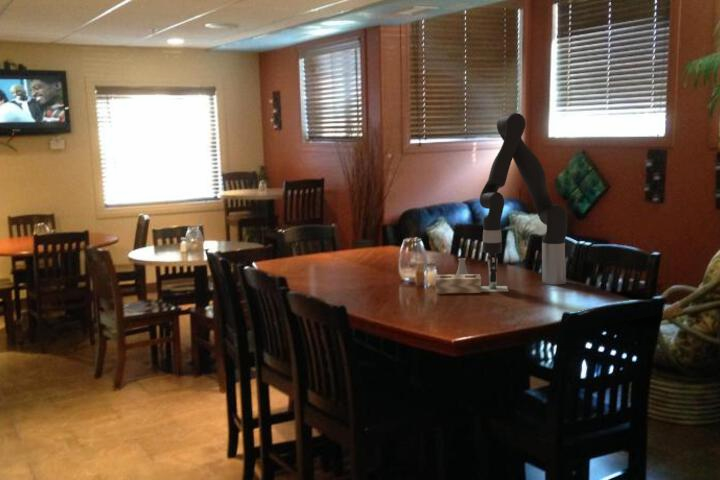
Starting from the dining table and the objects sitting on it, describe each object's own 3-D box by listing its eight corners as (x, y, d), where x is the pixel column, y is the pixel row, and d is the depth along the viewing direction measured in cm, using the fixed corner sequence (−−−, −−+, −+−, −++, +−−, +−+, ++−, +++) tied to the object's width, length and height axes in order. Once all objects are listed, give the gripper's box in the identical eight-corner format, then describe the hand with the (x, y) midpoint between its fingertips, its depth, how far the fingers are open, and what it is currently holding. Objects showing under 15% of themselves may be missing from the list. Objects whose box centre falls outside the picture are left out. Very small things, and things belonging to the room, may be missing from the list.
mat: (506, 286, 298) (506, 285, 298) (508, 292, 288) (508, 291, 288) (477, 287, 299) (477, 286, 299) (478, 292, 290) (478, 291, 290)
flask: (470, 283, 309) (469, 260, 307) (453, 283, 310) (453, 260, 309) (471, 279, 316) (470, 257, 314) (454, 279, 317) (454, 257, 316)
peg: (496, 287, 295) (495, 263, 294) (496, 289, 292) (496, 265, 291) (488, 287, 295) (488, 264, 294) (489, 289, 292) (488, 265, 291)
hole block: (480, 288, 297) (479, 274, 296) (481, 293, 288) (481, 278, 287) (436, 288, 300) (436, 274, 299) (436, 294, 290) (435, 279, 289)
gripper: (502, 243, 283) (503, 283, 286) (500, 238, 297) (500, 276, 300) (483, 243, 284) (484, 283, 287) (482, 238, 298) (482, 276, 301)
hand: (492, 279), depth 293 cm, fingers open, 8 cm apart
